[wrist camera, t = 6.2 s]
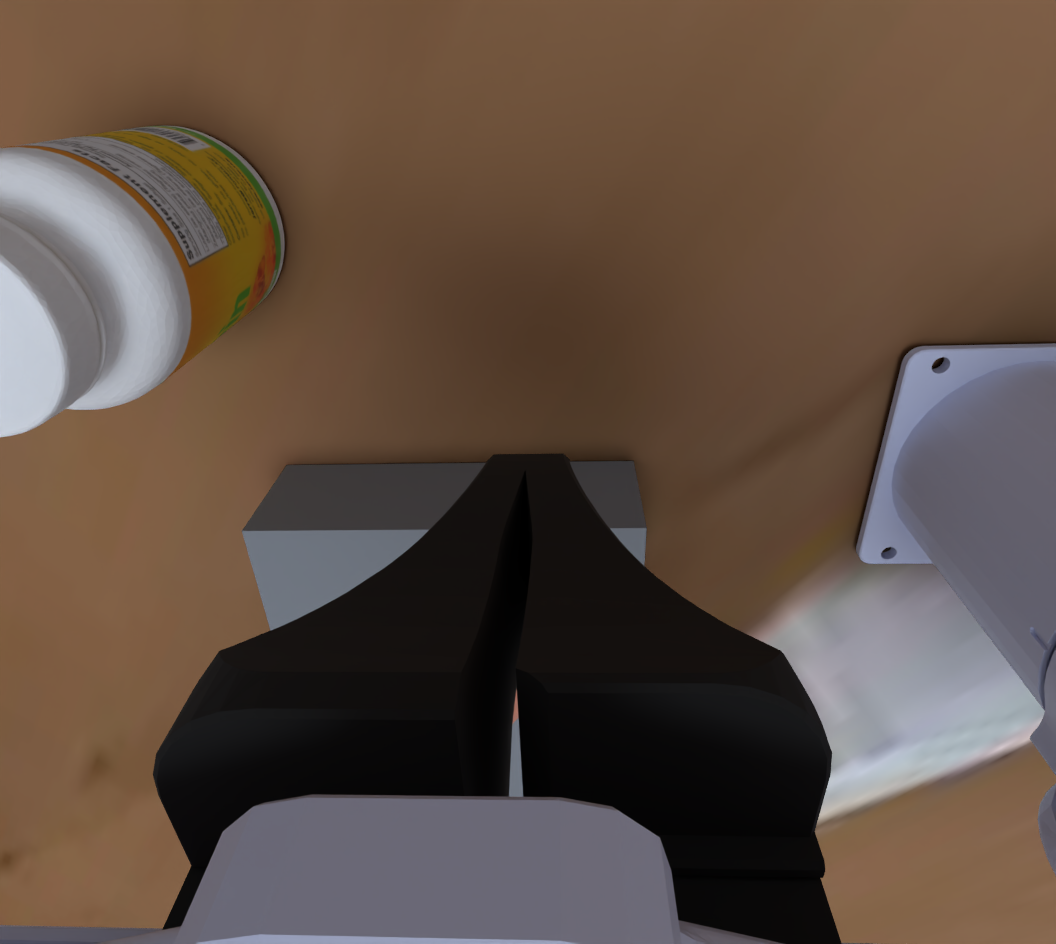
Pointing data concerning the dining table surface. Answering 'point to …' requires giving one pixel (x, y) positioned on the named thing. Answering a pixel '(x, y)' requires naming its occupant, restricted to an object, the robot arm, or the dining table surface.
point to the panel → (388, 529)
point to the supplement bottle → (123, 264)
